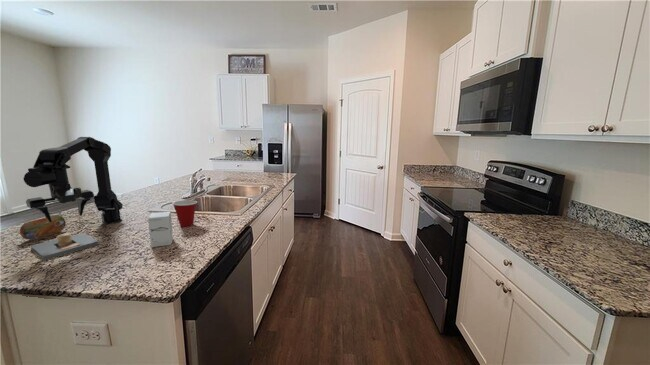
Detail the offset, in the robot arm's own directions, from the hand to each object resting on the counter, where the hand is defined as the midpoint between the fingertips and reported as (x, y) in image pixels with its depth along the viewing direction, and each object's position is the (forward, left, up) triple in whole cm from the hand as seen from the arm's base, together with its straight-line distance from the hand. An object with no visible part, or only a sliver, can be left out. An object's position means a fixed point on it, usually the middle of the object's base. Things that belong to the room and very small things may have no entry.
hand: (66, 218), depth 108 cm
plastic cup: (-39, +20, -11) cm, 45 cm away
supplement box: (-21, +32, -11) cm, 39 cm away
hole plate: (+2, +4, -11) cm, 11 cm away
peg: (+2, +4, -11) cm, 11 cm away
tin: (+3, -18, -11) cm, 22 cm away
